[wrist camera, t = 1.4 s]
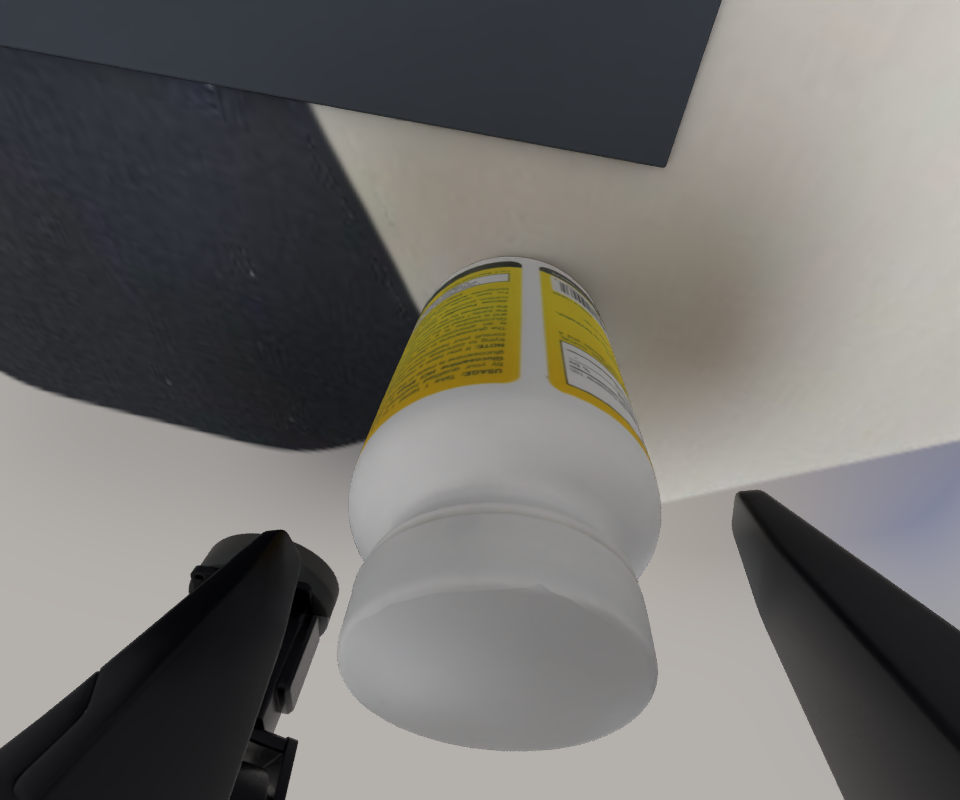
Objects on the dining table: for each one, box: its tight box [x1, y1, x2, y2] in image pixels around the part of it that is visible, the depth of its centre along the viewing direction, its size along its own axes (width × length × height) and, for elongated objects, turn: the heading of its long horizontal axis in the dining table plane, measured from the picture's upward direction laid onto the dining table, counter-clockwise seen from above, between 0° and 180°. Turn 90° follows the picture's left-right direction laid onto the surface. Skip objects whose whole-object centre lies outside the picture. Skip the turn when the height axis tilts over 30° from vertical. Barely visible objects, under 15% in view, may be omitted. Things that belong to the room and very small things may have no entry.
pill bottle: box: [337, 257, 661, 751], centre depth 12 cm, size 6×6×11 cm
